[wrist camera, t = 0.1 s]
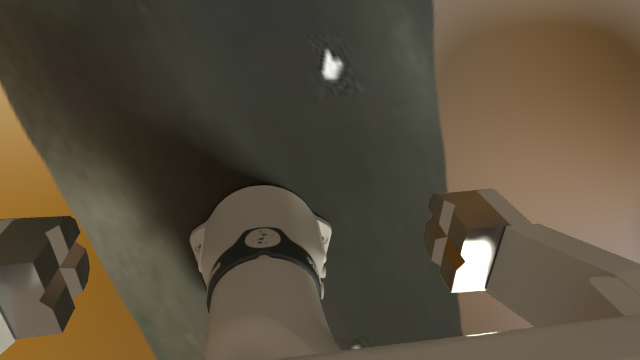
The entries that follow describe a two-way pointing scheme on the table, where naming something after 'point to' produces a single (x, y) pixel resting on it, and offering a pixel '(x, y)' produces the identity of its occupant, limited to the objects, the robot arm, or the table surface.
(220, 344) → the robot arm
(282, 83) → the table surface
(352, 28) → the table surface
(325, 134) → the table surface
